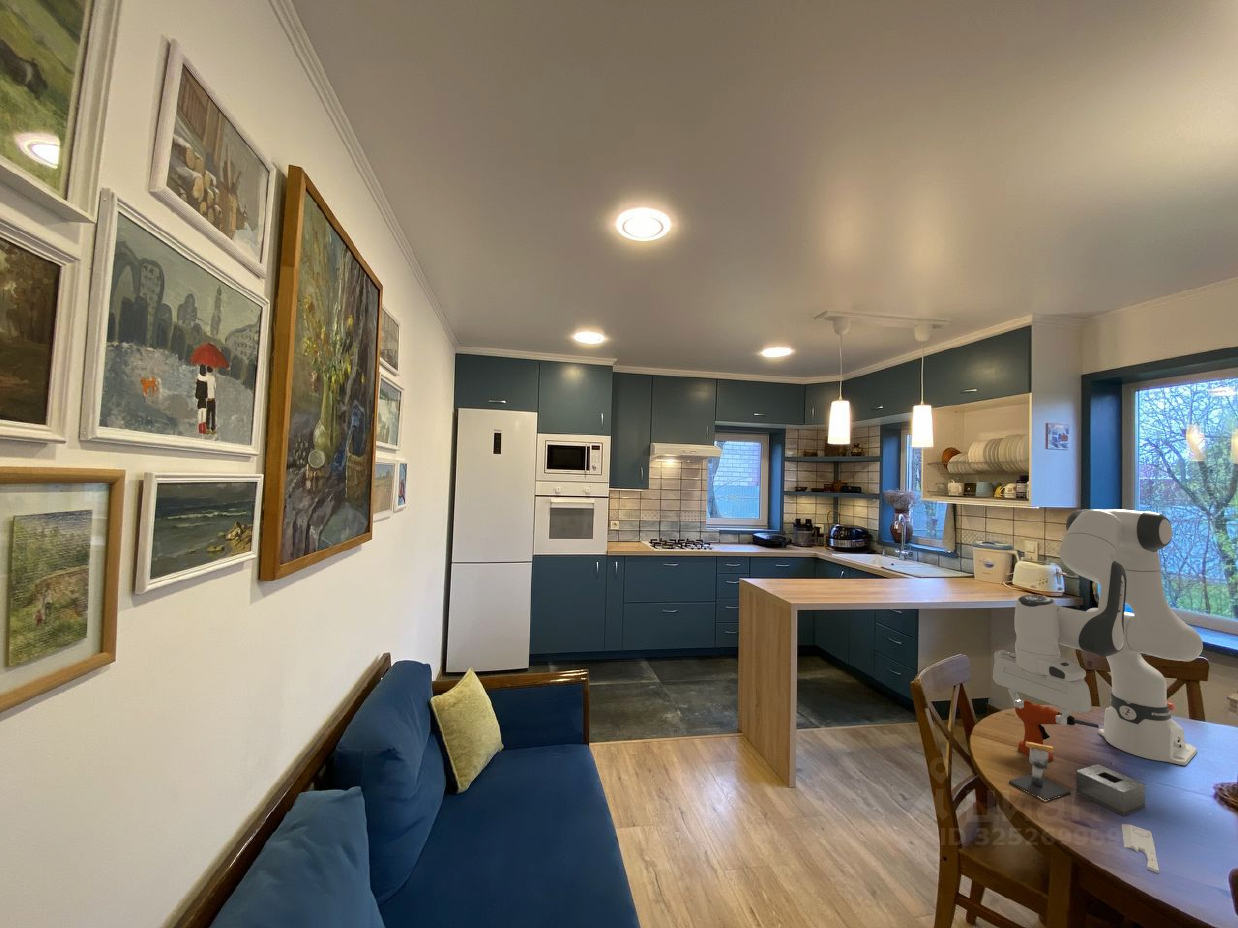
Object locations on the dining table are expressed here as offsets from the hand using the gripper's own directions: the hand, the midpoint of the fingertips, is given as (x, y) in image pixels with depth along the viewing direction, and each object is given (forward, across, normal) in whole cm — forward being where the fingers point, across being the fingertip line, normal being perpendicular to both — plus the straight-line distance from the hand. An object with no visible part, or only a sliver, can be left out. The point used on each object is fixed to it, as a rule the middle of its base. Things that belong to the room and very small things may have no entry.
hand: (1039, 715), depth 126 cm
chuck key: (+18, 0, -1) cm, 18 cm away
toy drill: (+19, -6, +17) cm, 26 cm away
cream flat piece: (+19, +20, -4) cm, 28 cm away
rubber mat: (+18, 0, -1) cm, 18 cm away
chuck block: (+18, +9, +10) cm, 23 cm away
